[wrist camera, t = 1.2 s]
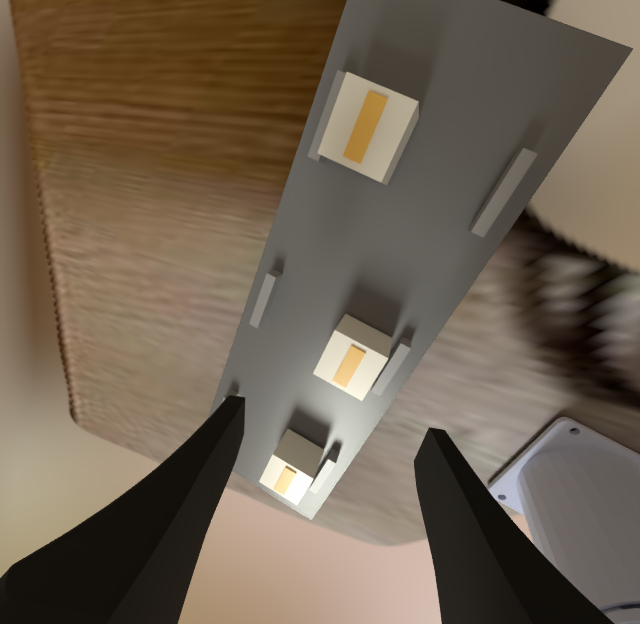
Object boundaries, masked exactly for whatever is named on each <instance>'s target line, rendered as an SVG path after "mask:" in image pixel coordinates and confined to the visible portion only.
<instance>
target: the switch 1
mask: <svg viewBox="0 0 640 624" xmlns="http://www.w3.org/2000/svg"><path fill="white" fill-rule="evenodd" d="M323 453H324V449H322V448H320V447H319V446H317V445H315V444H313V443H312V442H310V441H308V440H307V439H305V438H303V437H302V436H300V435H298V434H296V433H295V432H293V431H291V430H290V429H287V430H286V432H285V434H284V436H283V437H282V439H281V441H280V442H279V444H278V446H277V448H276V449H275V451H274V453H273V455H272V457H271V459H270V461H269V463H268V465H267V467H266V469H265V471H264V473H263V475H262V477H261V479H260V481H259V482H260V483H262V484H263V485H265V486H266V487H268V488H270V489H271V490H273V491H274V492H276V493H278V494H279V495H281V496H282V497H284V498H286V499H287V500H289V501H290V502H292V503H294V504H295V505H298V503H299V501H300V500H301V498H302V497H303V495H304V493H305V492H306V490H307V489H308V487H309V485H310V484H311V482H312V481H313V479H314V476H315V474H316V471H317V469H318V466H319V463H320V461H321V458H322V456H323Z"/></svg>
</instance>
